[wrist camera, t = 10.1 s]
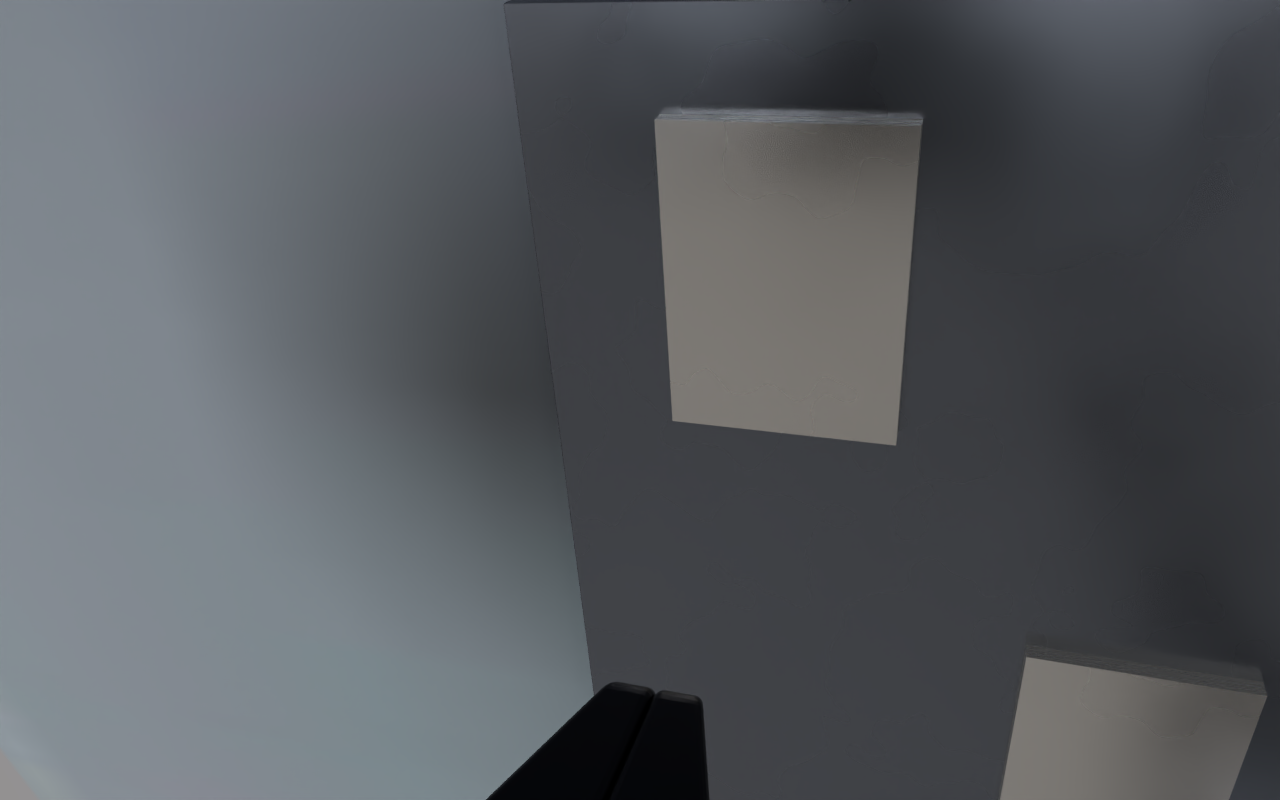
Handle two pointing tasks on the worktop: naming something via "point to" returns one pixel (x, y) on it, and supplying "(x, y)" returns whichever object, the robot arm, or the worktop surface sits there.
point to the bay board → (922, 383)
